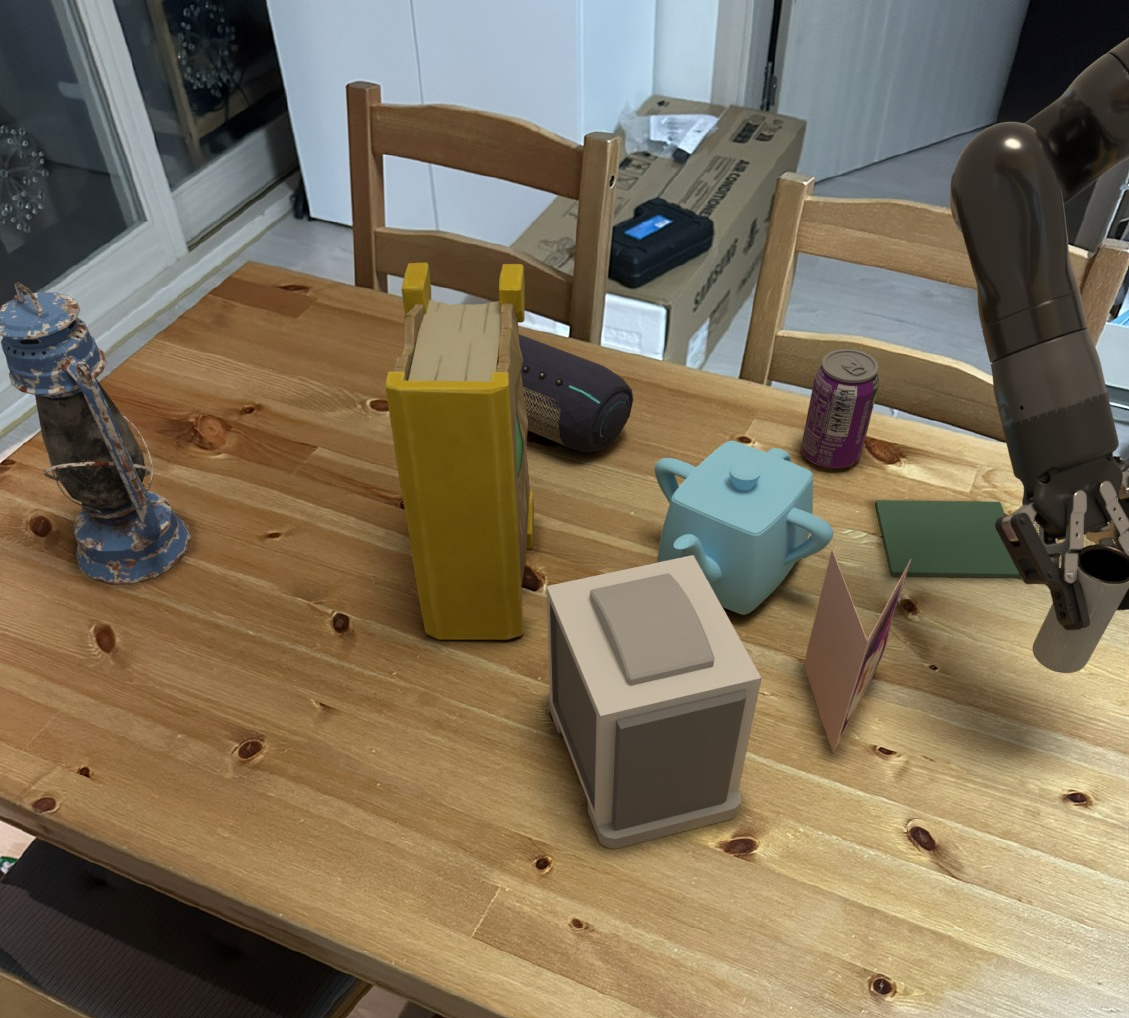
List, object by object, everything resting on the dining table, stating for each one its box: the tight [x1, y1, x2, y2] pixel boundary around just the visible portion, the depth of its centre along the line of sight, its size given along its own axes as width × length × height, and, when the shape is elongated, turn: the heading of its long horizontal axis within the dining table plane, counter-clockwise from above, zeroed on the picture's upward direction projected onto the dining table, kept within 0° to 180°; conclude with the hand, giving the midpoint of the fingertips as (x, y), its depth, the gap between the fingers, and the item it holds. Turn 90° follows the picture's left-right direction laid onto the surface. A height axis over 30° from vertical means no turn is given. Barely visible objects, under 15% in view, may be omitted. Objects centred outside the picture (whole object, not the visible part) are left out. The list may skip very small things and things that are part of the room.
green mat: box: [874, 499, 1022, 579], centre depth 117 cm, size 14×12×1 cm
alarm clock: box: [546, 555, 762, 850], centre depth 92 cm, size 18×13×18 cm
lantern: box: [0, 281, 193, 585], centre depth 106 cm, size 15×12×30 cm
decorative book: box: [384, 262, 535, 640], centre depth 102 cm, size 20×11×30 cm, turn 177°
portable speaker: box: [519, 333, 634, 453], centre depth 127 cm, size 25×10×10 cm, turn 55°
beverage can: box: [800, 348, 880, 469], centre depth 122 cm, size 7×7×12 cm
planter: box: [1031, 544, 1129, 674], centre depth 86 cm, size 4×4×10 cm
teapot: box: [654, 440, 834, 616], centre depth 108 cm, size 18×16×14 cm
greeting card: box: [803, 548, 911, 754], centre depth 97 cm, size 11×7×15 cm, turn 151°
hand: (1102, 617), depth 84 cm, fingers closed on planter, 4 cm apart
